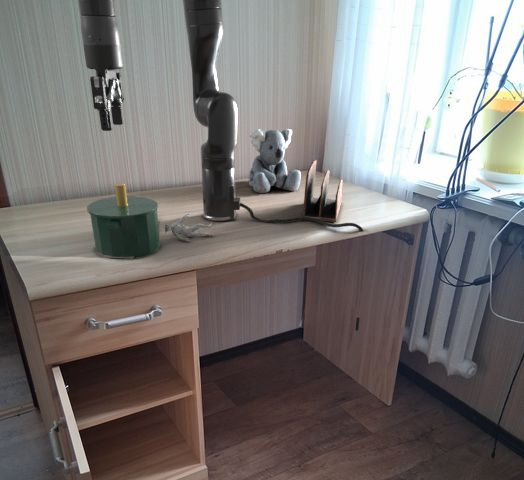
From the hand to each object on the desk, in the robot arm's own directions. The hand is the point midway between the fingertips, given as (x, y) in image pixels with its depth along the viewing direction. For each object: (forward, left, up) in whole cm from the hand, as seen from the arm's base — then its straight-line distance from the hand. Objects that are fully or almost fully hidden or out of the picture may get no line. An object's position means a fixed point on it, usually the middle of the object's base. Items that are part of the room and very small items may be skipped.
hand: (112, 127), depth 113 cm
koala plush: (-34, -63, -28) cm, 77 cm away
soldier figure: (-14, -9, -28) cm, 33 cm away
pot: (0, 0, -28) cm, 28 cm away
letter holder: (-51, -35, -28) cm, 68 cm away
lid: (0, 0, -18) cm, 18 cm away
